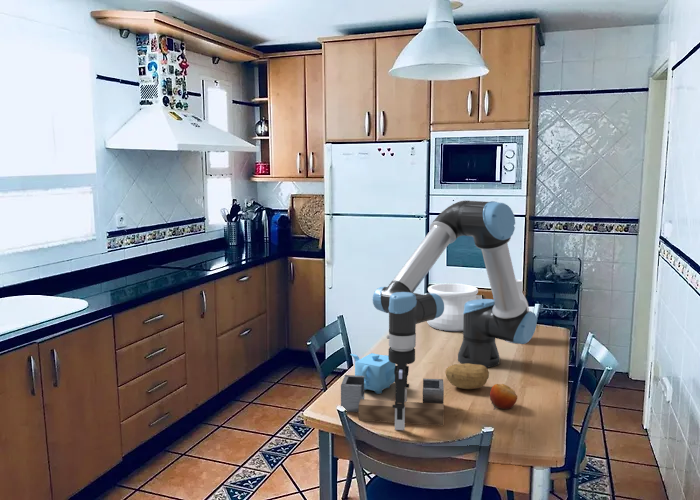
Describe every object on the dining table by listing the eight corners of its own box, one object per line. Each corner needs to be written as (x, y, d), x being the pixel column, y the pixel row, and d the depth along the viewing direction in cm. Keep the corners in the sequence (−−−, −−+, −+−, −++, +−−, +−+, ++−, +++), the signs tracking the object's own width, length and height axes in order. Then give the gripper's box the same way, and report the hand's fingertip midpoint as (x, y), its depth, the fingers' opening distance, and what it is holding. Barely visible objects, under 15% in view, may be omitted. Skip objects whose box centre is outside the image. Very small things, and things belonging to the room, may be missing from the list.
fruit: (480, 397, 183) (493, 376, 182) (501, 409, 184) (514, 388, 183) (488, 408, 175) (502, 385, 174) (510, 420, 176) (524, 398, 175)
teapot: (386, 401, 184) (387, 366, 183) (338, 389, 194) (337, 356, 192) (409, 385, 198) (410, 352, 196) (363, 375, 207) (363, 343, 205)
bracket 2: (442, 404, 181) (443, 379, 180) (443, 416, 173) (443, 390, 172) (422, 403, 182) (423, 378, 181) (422, 415, 173) (422, 389, 172)
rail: (443, 420, 171) (443, 403, 170) (443, 426, 167) (443, 409, 166) (360, 415, 175) (360, 399, 174) (358, 421, 171) (358, 404, 170)
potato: (444, 381, 201) (445, 358, 199) (487, 384, 198) (488, 361, 197) (444, 392, 191) (445, 368, 190) (489, 395, 189) (490, 371, 188)
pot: (422, 331, 261) (422, 292, 258) (424, 317, 285) (424, 281, 282) (482, 334, 256) (484, 294, 254) (480, 320, 280) (481, 283, 278)
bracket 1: (340, 411, 177) (340, 385, 175) (345, 399, 185) (345, 374, 184) (361, 412, 176) (361, 386, 175) (364, 400, 185) (364, 375, 184)
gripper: (391, 334, 181) (390, 401, 183) (385, 361, 156) (384, 437, 159) (416, 335, 180) (415, 402, 182) (414, 362, 155) (412, 439, 158)
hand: (400, 419), depth 171 cm, fingers open, 13 cm apart
